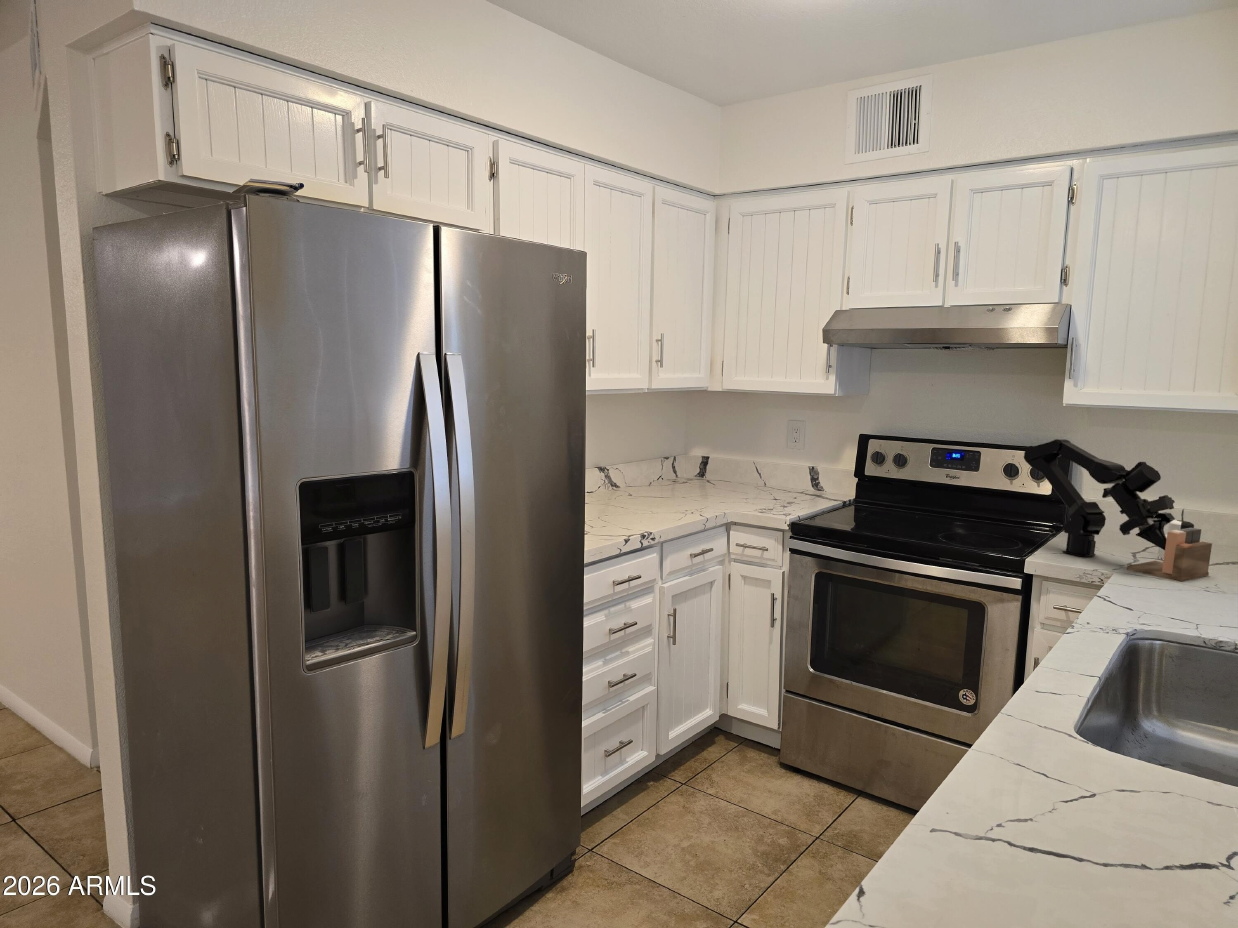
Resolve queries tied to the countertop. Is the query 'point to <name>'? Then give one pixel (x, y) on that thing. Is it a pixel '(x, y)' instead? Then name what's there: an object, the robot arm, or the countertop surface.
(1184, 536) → the orange rectangular block
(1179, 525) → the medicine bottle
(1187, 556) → the brown wooden book holder
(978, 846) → the countertop surface
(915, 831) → the countertop surface
